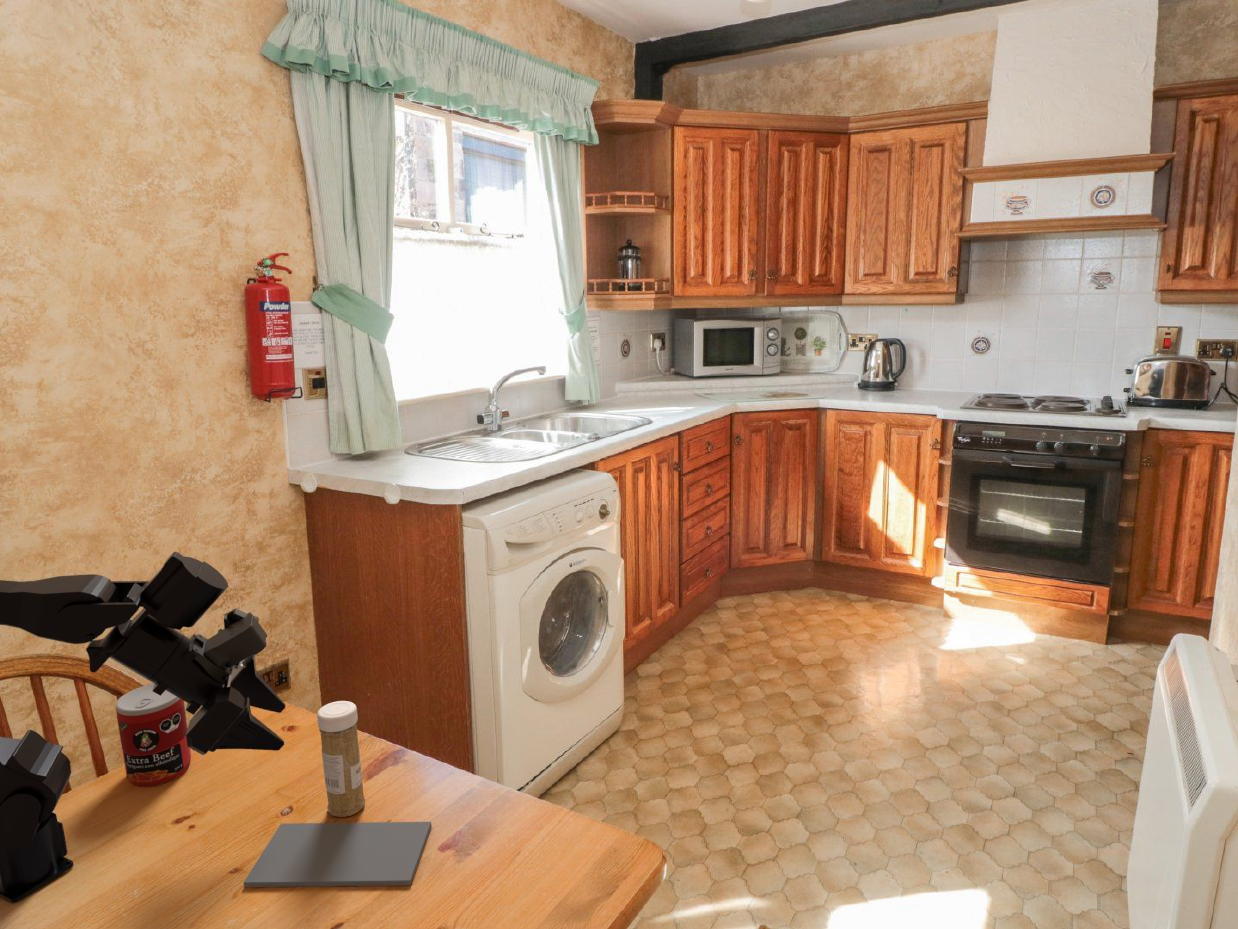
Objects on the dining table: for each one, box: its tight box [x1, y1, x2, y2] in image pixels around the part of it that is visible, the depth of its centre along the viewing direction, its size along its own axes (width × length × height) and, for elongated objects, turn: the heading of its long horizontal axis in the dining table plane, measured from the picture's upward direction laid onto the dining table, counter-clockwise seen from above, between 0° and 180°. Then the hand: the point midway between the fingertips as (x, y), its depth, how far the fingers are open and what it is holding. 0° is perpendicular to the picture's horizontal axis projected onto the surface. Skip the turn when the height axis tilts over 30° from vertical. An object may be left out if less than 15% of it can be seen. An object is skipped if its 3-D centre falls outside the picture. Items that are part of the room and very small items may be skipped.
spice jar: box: [316, 700, 366, 818], centre depth 101 cm, size 5×5×13 cm
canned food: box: [115, 683, 192, 788], centre depth 110 cm, size 8×8×11 cm
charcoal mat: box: [243, 821, 432, 888], centre depth 94 cm, size 18×10×1 cm, turn 90°
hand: (282, 727), depth 98 cm, fingers open, 9 cm apart
